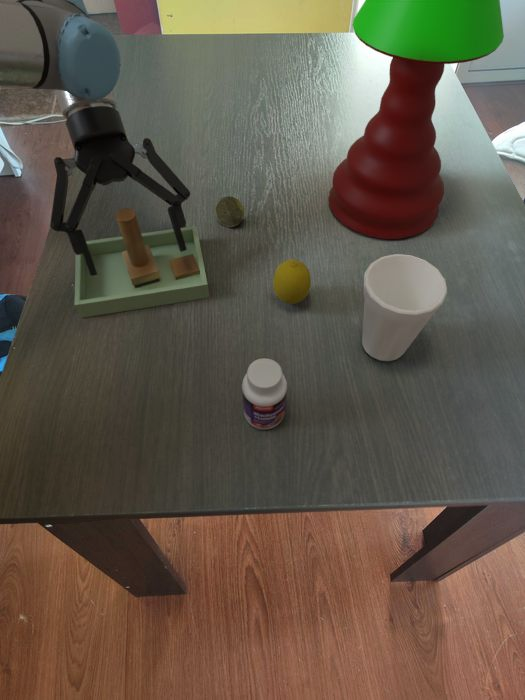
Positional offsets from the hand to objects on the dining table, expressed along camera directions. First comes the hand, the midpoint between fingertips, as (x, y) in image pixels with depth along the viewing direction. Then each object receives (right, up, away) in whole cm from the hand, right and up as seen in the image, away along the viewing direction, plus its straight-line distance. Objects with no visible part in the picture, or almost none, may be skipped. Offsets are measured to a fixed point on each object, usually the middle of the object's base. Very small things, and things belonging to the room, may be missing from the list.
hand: (139, 262), depth 70 cm
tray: (-1, -1, +5) cm, 6 cm away
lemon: (+23, -5, +2) cm, 24 cm away
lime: (+13, +10, +13) cm, 21 cm away
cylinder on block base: (-1, 0, +5) cm, 5 cm away
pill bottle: (+19, -21, -9) cm, 30 cm away
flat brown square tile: (+6, 0, +6) cm, 8 cm away
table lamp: (+40, +14, +16) cm, 45 cm away
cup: (+36, -12, -2) cm, 38 cm away
